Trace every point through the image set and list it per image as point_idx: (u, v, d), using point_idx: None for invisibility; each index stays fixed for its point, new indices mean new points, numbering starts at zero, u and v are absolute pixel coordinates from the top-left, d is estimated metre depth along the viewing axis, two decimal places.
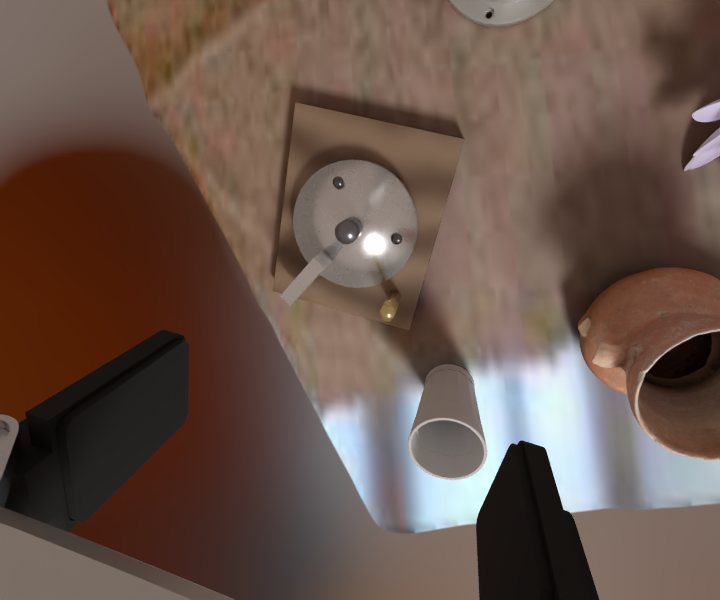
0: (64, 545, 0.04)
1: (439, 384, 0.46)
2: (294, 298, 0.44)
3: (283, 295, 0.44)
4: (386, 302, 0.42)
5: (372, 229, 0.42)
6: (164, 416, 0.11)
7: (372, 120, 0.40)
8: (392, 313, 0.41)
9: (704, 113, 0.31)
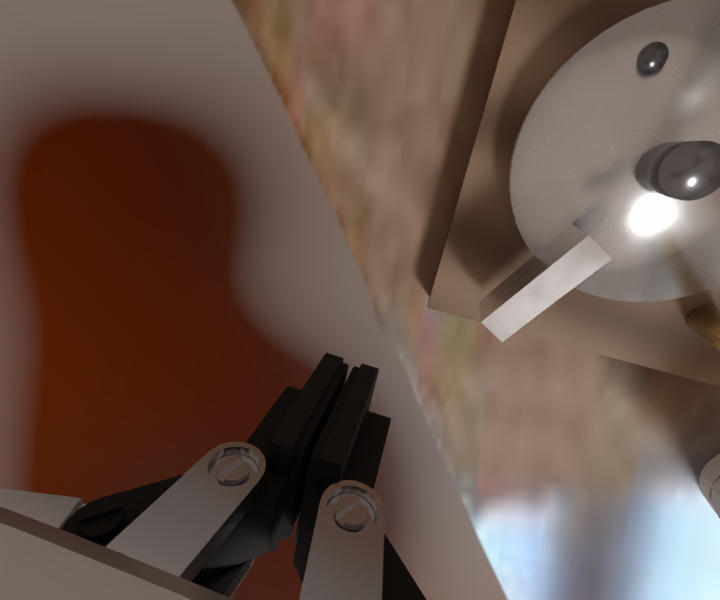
0: (63, 544, 0.04)
1: None
2: (516, 326, 0.20)
3: (490, 320, 0.21)
4: None
5: None
6: None
7: None
8: None
9: None
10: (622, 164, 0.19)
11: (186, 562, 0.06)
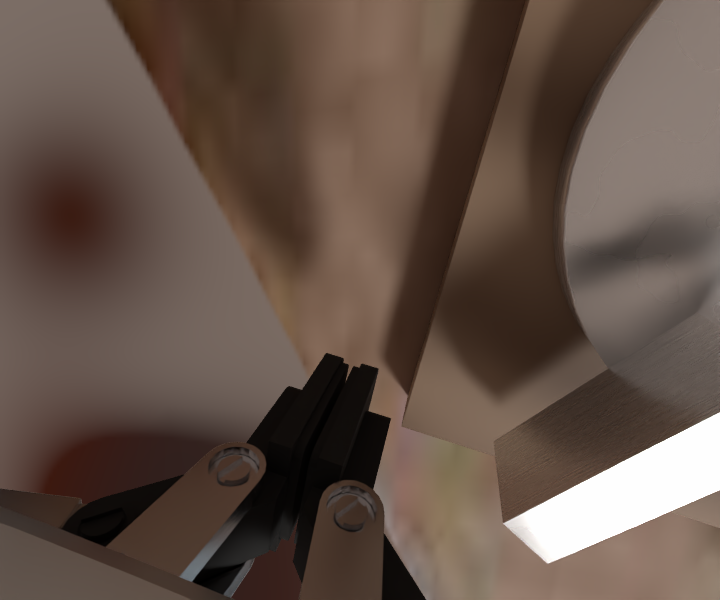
0: (63, 544, 0.04)
1: None
2: (581, 541, 0.09)
3: (524, 522, 0.09)
4: None
5: None
6: None
7: None
8: None
9: None
10: None
11: (186, 562, 0.06)
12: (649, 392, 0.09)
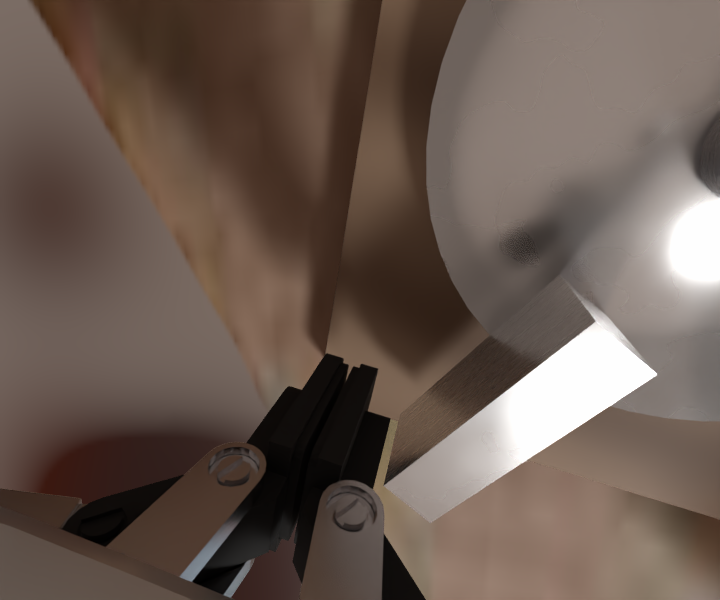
0: (63, 544, 0.04)
1: None
2: (454, 498, 0.10)
3: (401, 483, 0.10)
4: None
5: None
6: None
7: None
8: None
9: None
10: (663, 144, 0.09)
11: (186, 562, 0.06)
12: (508, 352, 0.09)
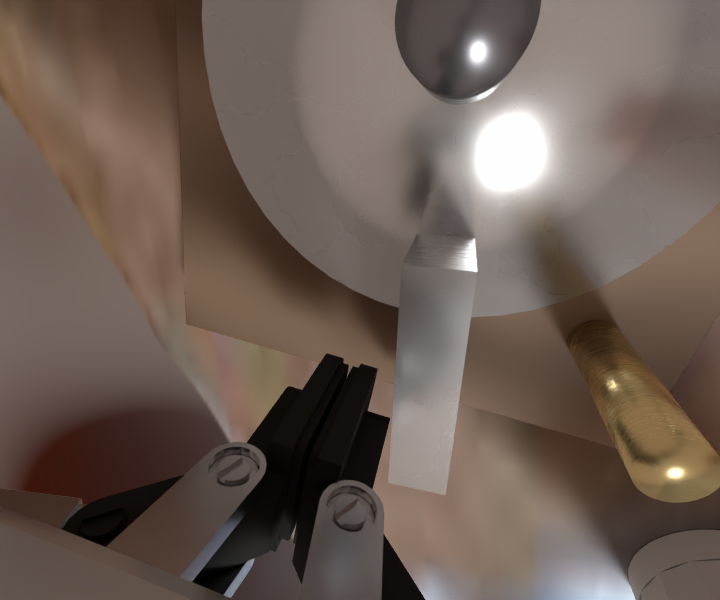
0: (63, 544, 0.04)
1: None
2: (442, 463, 0.10)
3: (397, 473, 0.11)
4: (635, 393, 0.09)
5: None
6: None
7: None
8: (716, 470, 0.08)
9: None
10: (400, 99, 0.10)
11: (186, 563, 0.06)
12: None
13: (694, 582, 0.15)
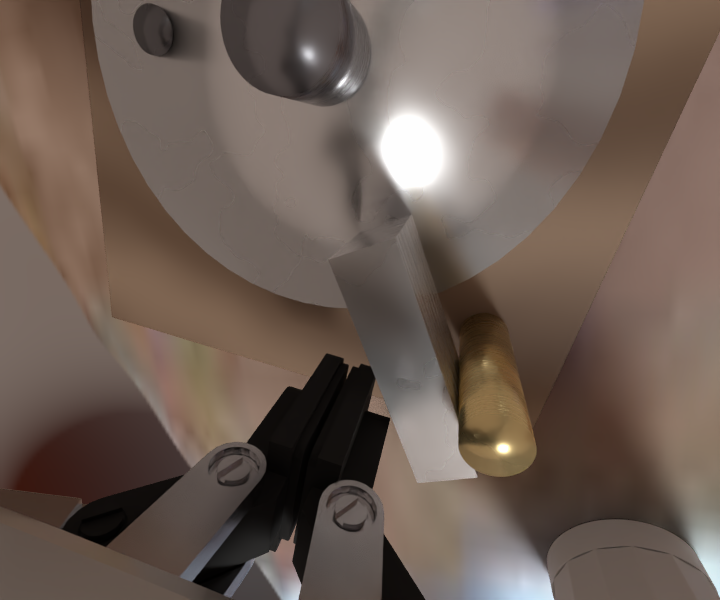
0: (63, 544, 0.04)
1: None
2: (457, 443, 0.10)
3: (421, 469, 0.10)
4: (481, 376, 0.10)
5: None
6: None
7: None
8: (528, 445, 0.08)
9: None
10: (294, 121, 0.11)
11: (186, 562, 0.06)
12: None
13: (595, 569, 0.16)
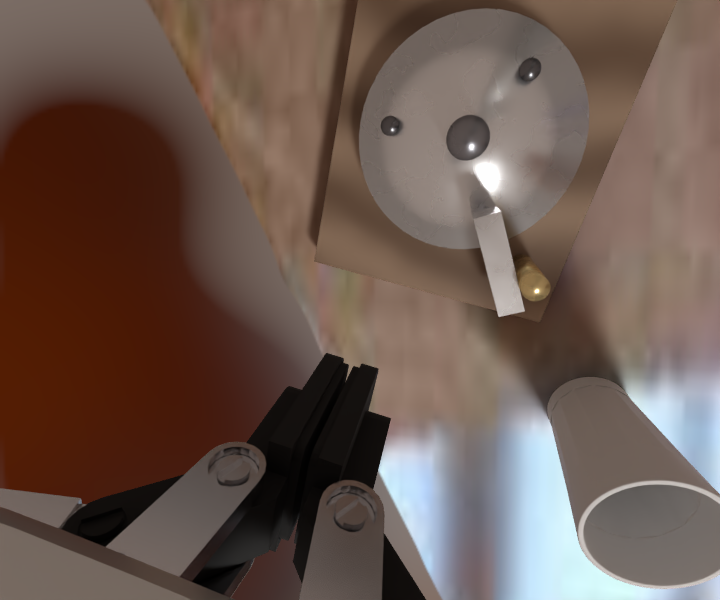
0: (64, 544, 0.04)
1: (598, 411, 0.27)
2: (517, 295, 0.24)
3: (501, 310, 0.25)
4: (527, 269, 0.24)
5: (488, 107, 0.24)
6: None
7: None
8: (547, 286, 0.23)
9: None
10: (447, 165, 0.25)
11: (186, 562, 0.06)
12: (480, 246, 0.25)
13: (573, 396, 0.30)
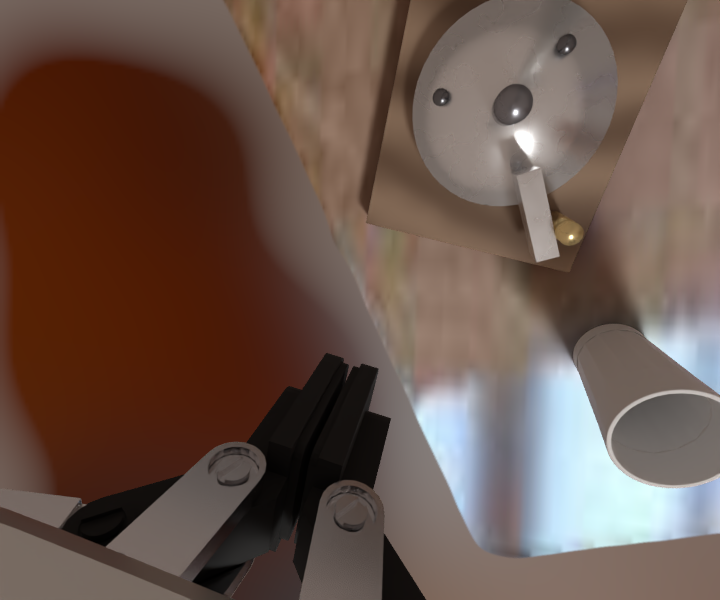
0: (62, 544, 0.04)
1: (622, 347, 0.31)
2: (553, 242, 0.28)
3: (538, 256, 0.29)
4: (561, 219, 0.28)
5: (529, 78, 0.27)
6: None
7: None
8: (581, 231, 0.27)
9: None
10: (491, 131, 0.29)
11: (186, 562, 0.06)
12: (520, 201, 0.29)
13: (598, 339, 0.34)
